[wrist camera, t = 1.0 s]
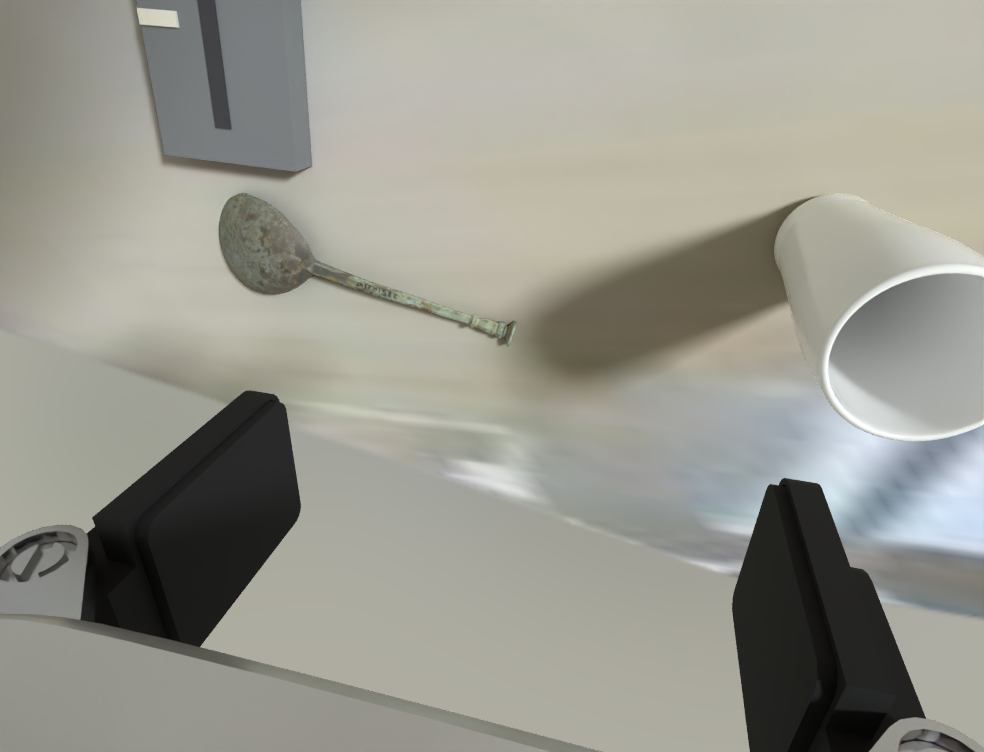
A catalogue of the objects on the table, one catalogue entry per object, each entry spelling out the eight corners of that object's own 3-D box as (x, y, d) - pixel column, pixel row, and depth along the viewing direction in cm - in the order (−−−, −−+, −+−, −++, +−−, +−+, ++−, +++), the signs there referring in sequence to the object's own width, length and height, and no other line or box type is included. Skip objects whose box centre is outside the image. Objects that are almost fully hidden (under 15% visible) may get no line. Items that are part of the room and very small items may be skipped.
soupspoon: (228, 174, 41) (227, 261, 45) (194, 185, 38) (196, 277, 42) (531, 288, 39) (504, 370, 43) (518, 309, 36) (490, 395, 40)
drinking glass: (774, 314, 36) (839, 462, 23) (744, 205, 33) (796, 302, 21) (906, 276, 33) (1062, 419, 20) (883, 155, 31) (1043, 231, 18)
